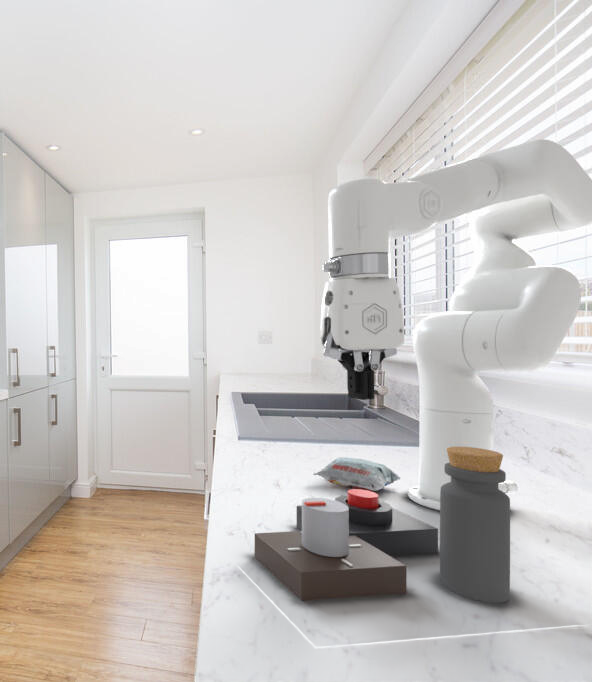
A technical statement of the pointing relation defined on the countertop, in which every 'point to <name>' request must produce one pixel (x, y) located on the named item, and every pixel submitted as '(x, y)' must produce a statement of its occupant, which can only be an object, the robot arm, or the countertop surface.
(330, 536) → the dial
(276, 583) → the countertop surface
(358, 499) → the power button
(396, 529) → the push button base
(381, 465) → the packaged food
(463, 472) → the bottle
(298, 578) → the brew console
